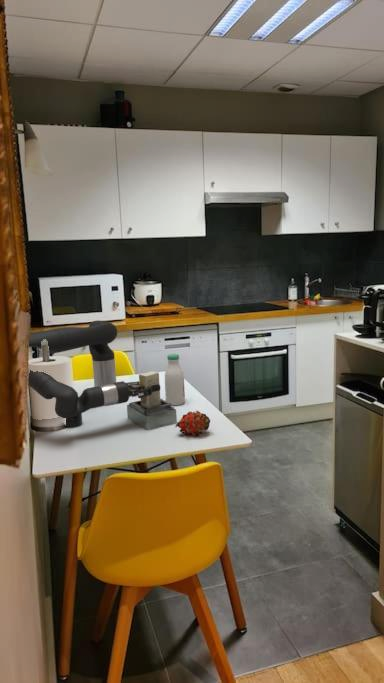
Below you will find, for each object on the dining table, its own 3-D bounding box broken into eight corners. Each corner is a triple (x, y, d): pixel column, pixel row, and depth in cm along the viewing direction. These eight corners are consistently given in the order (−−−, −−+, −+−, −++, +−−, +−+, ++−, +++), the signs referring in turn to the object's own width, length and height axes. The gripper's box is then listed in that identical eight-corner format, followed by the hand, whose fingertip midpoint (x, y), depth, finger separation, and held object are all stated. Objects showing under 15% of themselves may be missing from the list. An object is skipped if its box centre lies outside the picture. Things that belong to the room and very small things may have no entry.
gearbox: (127, 417, 187) (126, 401, 186) (156, 411, 193) (155, 395, 192) (146, 430, 173) (145, 412, 172) (176, 422, 179) (175, 405, 178)
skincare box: (153, 402, 186) (152, 370, 183) (161, 404, 182) (159, 372, 180) (139, 406, 181) (138, 373, 179) (147, 408, 178) (145, 375, 176)
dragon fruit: (214, 437, 168) (179, 445, 168) (208, 417, 174) (174, 424, 173) (212, 423, 162) (176, 431, 161) (207, 402, 168) (172, 410, 167)
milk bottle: (182, 406, 197) (180, 357, 194) (163, 405, 199) (161, 357, 195) (186, 400, 205) (184, 352, 201) (168, 399, 206) (166, 352, 203)
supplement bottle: (66, 429, 178) (63, 396, 175) (61, 423, 184) (58, 392, 181) (84, 425, 181) (82, 393, 178) (79, 420, 187) (77, 389, 184)
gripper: (120, 388, 167) (165, 379, 175) (104, 379, 179) (146, 371, 187) (121, 409, 168) (166, 400, 177) (105, 399, 180) (147, 391, 189)
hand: (156, 385), depth 182 cm, fingers closed on skincare box, 5 cm apart
